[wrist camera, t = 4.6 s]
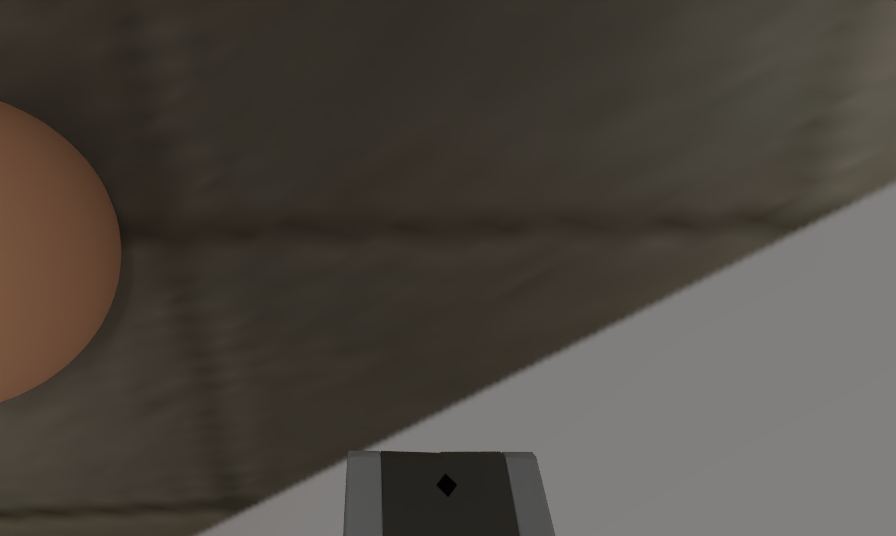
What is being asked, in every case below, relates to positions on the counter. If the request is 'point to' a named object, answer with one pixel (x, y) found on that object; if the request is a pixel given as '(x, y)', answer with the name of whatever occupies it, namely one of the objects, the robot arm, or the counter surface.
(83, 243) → the ball
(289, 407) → the counter surface
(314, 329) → the counter surface
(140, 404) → the counter surface
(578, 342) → the counter surface
